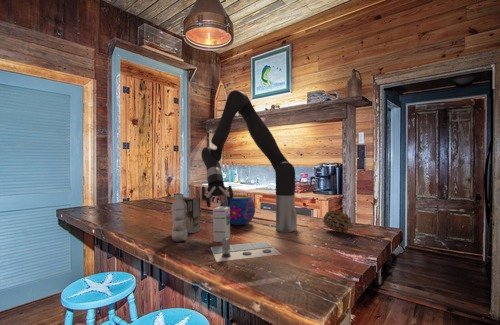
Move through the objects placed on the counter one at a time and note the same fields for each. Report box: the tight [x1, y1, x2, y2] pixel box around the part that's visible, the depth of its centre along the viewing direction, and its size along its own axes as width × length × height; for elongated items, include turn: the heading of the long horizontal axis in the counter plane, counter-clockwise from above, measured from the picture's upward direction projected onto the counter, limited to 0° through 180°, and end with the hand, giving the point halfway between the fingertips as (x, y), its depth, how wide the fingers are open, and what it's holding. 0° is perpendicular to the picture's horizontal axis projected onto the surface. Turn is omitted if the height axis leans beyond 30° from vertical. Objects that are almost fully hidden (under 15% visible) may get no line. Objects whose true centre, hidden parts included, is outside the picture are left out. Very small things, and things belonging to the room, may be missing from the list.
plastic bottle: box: [171, 193, 189, 243], centre depth 111 cm, size 6×7×20 cm
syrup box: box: [212, 206, 231, 243], centre depth 109 cm, size 6×6×14 cm
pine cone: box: [322, 209, 371, 234], centre depth 121 cm, size 22×10×10 cm, turn 55°
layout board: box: [209, 241, 282, 263], centre depth 96 cm, size 23×15×1 cm, turn 107°
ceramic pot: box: [219, 194, 256, 226], centre depth 139 cm, size 18×18×15 cm
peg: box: [221, 238, 231, 257], centre depth 90 cm, size 3×3×6 cm
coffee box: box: [183, 196, 201, 234], centre depth 126 cm, size 9×6×16 cm
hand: (219, 205), depth 115 cm, fingers open, 8 cm apart
